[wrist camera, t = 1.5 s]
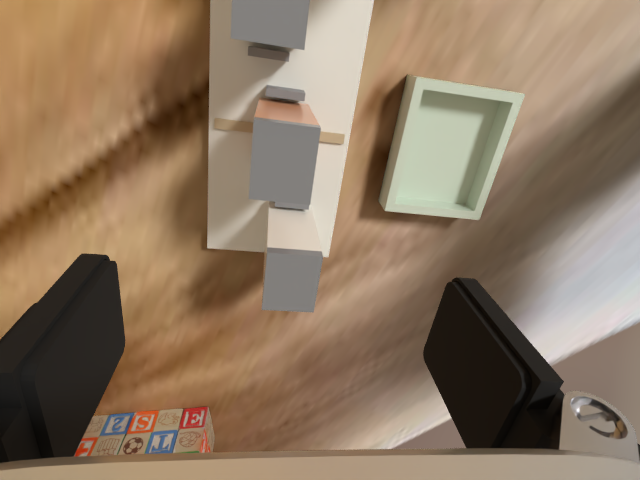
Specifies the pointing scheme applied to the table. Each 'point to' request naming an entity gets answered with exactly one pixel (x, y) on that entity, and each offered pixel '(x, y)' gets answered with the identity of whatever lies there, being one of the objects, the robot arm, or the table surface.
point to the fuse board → (287, 85)
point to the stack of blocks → (149, 433)
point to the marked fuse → (283, 152)
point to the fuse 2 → (291, 260)
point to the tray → (447, 147)
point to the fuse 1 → (270, 22)
